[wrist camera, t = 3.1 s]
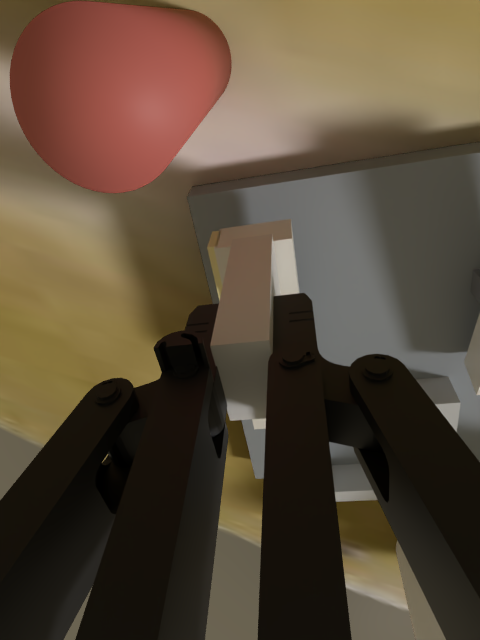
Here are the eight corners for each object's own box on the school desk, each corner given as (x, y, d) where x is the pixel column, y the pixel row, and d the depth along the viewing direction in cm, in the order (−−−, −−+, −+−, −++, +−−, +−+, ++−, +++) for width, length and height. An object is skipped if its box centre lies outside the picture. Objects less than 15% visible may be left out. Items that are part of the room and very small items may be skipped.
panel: (192, 186, 21) (178, 213, 18) (613, 120, 18) (676, 139, 15) (256, 461, 32) (254, 504, 29) (527, 445, 29) (555, 493, 26)
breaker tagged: (212, 229, 19) (206, 249, 17) (291, 219, 18) (292, 238, 17) (250, 401, 24) (248, 429, 22) (311, 397, 24) (314, 425, 22)
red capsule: (133, 20, 18) (-23, 22, 9) (221, 0, 17) (155, -19, 8) (158, 117, 20) (52, 203, 10) (238, 102, 19) (200, 180, 10)
